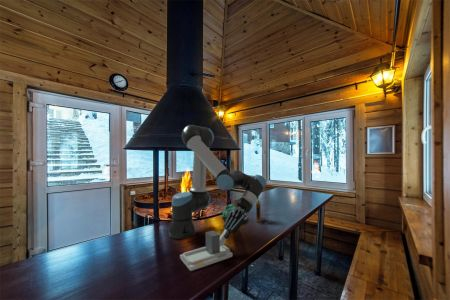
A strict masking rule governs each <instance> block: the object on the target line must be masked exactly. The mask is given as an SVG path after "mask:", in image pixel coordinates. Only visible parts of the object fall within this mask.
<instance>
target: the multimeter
mask: <svg viewBox="0 0 450 300" xmlns="http://www.w3.org/2000/svg"><path fill="white" fill-rule="evenodd" d="M261 209H262V208H261V200H259V199H257V200H256V202H255V211H256V212H255V213H256V214H255V216H256V221H255V222H256V223H259V224H261V220H262V216H261V215H262V214H261V212H262V211H261ZM264 221H265V222H264V225H266V224H268V223H270V221H269V220H266V219H264ZM267 221H268V222H267Z"/></svg>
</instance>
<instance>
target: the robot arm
mask: <svg viewBox="0 0 450 300" xmlns="http://www.w3.org/2000/svg"><path fill="white" fill-rule="evenodd" d="M181 139H182V141H183V144H185V146H186V148H187V149H189V150H191V151H192V152H193V161H192V163H193V164H192V181H191V182H192V185H191V187H190V188H189V191H183V192H179V193H175V194H174V195H173V196H172V199H171V224H170V227H169V230H168V235H169V238H171V239H176V240H180V239H181V240H183V239H188V238H189V239H190V238H191V237H193V236H194V235H196V227H195V223H194V221H193V213H195V212H199V211H203V210H205V209H207V208H208V207H209V206H210V204H211V195H210V193H209V192H208V189H207V187H206V182H207V181H206V180H207V169H208V171H209V172H210V173H211V175H212V176H213V177H214V178H215V179H216V186H217V188H218V189H219V190H221V191H230V190H231V189H236V188H243V190H244V192H243V193H242V194H241V195H240V197H239V199H238V200H237V202H236V206H235V209H234V210H232V209H230V212H229V215H228V217H227V219H226V220H225V221H224V222H223V226H222V227H223V228H224V230H223V231H222V232H221V235H220V244H221V245H222V246H223V245H225V242H226V241H227V240H228V239H229V237H230V235H232V234H236V232H237V231H239V229H240V228H241V227H242V226H243V225H244V223H246V221H248V220H249V218H250V217H249V216H248V213H250V212H251V210H252V209H253V206H254V205H256V201H258V200H259V197H260V196H261V194H262V192H263V190H264V189H265V187H266V186H267V183H268V182H267V180H266V178H265V177H264V176H263V175H260V174H255V175H254V176H252V175H248V174H247V173H244V172H242V171H240V170H238V169H234V170H232V171H231V172H230V171H229V170H228V168H227V167H226V166H225V165H224V164H223V162H221V161H220V160H219V158H217V156H216V155H215V153H213V152H212V151H211V150H210V148H211V145H212V144H213V142H214V140H215V135H214V133H213V130H212V129H211V128H208V127H205V126H199V125H195V124H189V125H187V126H185V127H184V128H183V130H182V131H181Z"/></svg>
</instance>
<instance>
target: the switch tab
mask: <svg viewBox="0 0 450 300" xmlns="http://www.w3.org/2000/svg"><path fill="white" fill-rule="evenodd" d="M220 236H221V235H220V233H218V232H217V231H215V230H210V231H205V247H206V251H208V252H209V253H210V254H211V255H212V254H216V253H219V252H220Z"/></svg>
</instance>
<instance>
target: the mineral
mask: <svg viewBox="0 0 450 300" xmlns="http://www.w3.org/2000/svg"><path fill="white" fill-rule="evenodd" d="M235 208H236V205H235V204H234V203H230V204H228V205H225V206H224V207H223V210H222V213H221V214H222V215H221V219H222V221H224V222H225V221H226V219H227V217H228V215H229V212H230V209H232V210H234V209H235Z"/></svg>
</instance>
